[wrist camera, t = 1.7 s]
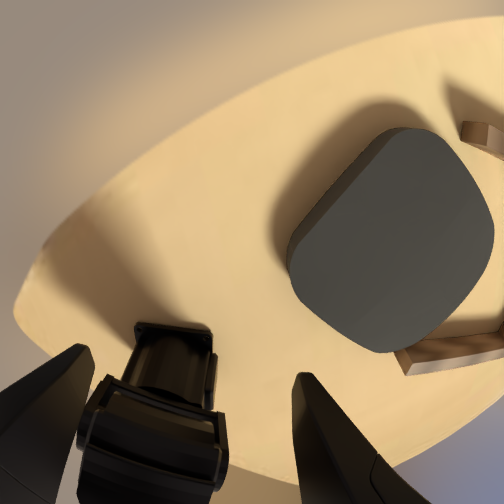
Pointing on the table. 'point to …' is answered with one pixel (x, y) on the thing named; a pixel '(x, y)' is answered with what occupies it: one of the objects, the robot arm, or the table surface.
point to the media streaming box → (393, 242)
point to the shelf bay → (467, 347)
